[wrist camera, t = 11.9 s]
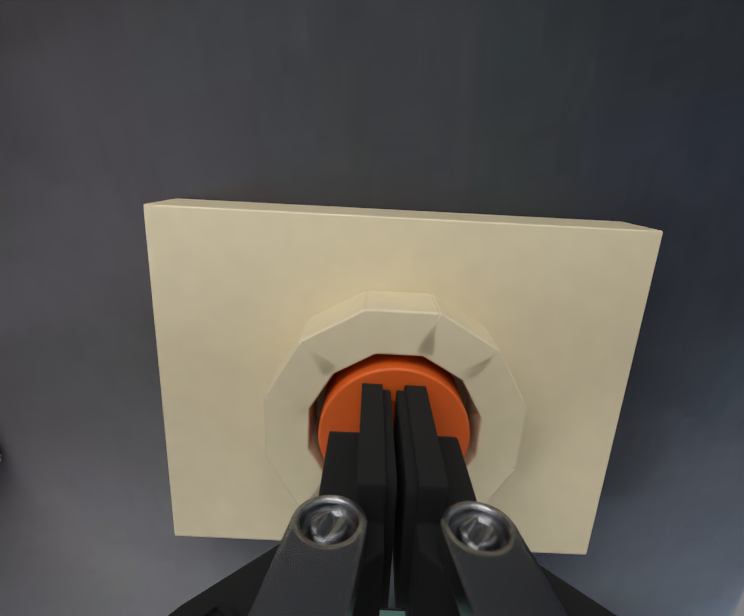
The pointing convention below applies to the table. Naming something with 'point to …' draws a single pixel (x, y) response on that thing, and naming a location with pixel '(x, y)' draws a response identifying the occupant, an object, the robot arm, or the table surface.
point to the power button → (393, 395)
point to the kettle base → (390, 349)
